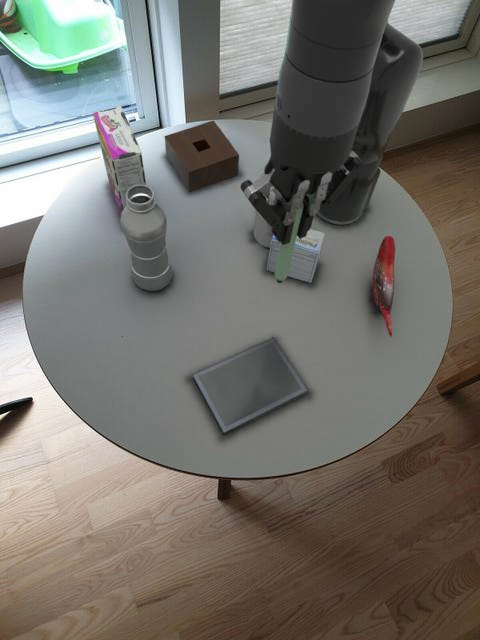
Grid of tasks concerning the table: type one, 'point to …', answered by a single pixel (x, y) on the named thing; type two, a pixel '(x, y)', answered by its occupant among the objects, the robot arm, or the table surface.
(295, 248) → the medicine box
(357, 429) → the table surface
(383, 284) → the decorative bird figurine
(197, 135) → the holder
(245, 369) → the tablet
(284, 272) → the stylus
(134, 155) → the candy bar box
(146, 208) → the plastic bottle
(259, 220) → the energy drink can
